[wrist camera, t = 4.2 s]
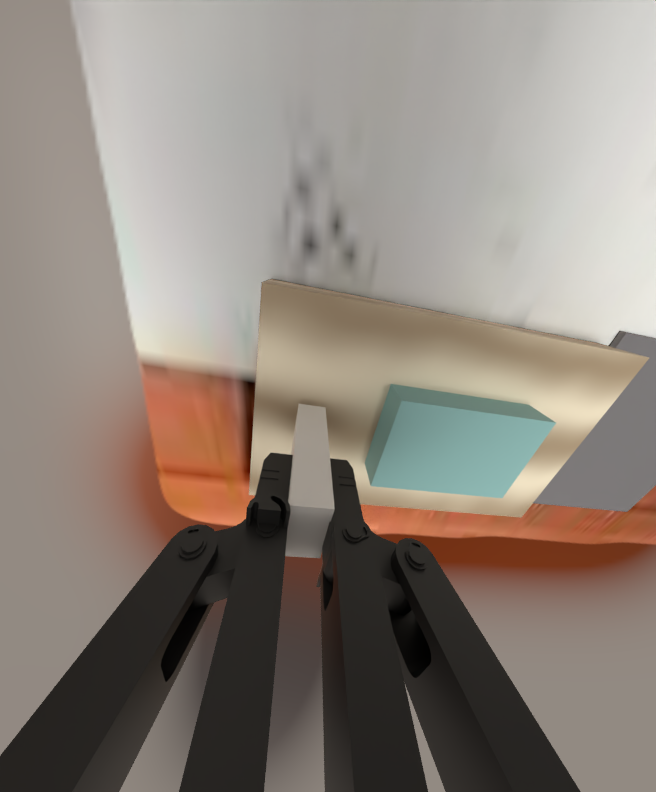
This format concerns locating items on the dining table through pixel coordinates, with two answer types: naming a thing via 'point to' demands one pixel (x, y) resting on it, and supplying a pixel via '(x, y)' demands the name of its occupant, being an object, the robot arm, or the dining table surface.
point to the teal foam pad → (452, 442)
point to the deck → (420, 382)
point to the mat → (615, 445)
